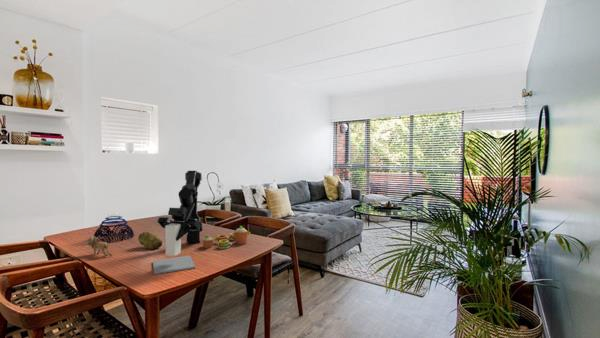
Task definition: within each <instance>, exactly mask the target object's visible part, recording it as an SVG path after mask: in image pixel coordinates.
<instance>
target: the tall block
mask: <svg viewBox="0 0 600 338" xmlns="http://www.w3.org/2000/svg"><path fill="white" fill-rule="evenodd" d="M180 228H181V224H173V223H171V224H169V225H166V226H165V228H164V230H165V234H164V235H165V256H172V257H175V256H176V257H177V255H179V254H181V253H182V237H181V238H180V239H179V240H178V241H176V237H177V235H178V233H179V230H180Z"/></svg>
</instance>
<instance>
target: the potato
mask: <svg viewBox="0 0 600 338" xmlns="http://www.w3.org/2000/svg"><path fill="white" fill-rule="evenodd" d="M137 240H138V243H140V245H142V246H143V247H144V248H146V249H148V250H149V249H150V250H153V249H159V248H161V247H162V246H163V240H162V239H161V238H160V237H158V236H157V235H156V234H154V233H152V232H150V231H144V232H141V233H140V234H139V235H138V238H137Z"/></svg>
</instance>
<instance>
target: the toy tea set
mask: <svg viewBox="0 0 600 338" xmlns="http://www.w3.org/2000/svg"><path fill="white" fill-rule="evenodd" d="M248 235H251V232H250V231H248V230H247V229H245V227H243V226H242V225H239V227H238V228H236V230H234V232H230V233H229V236H228V235H226V234H218V235H217V237H215V238H214V237H210V236H209V234H206V235H205V237H203V238H202V239H201V241H202V247H203V248H204V249H210V248H213V244H214V243H213V242H214V241H216V245H217V248H218V249H221V250H223V249H228V248H231V246H232V245H233V243H232V242H233V241H234V242H235V243H236V244H237V245H243V244H244V245H245V244H247V242H248V241H247V240H248ZM230 241H231V242H230Z"/></svg>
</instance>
